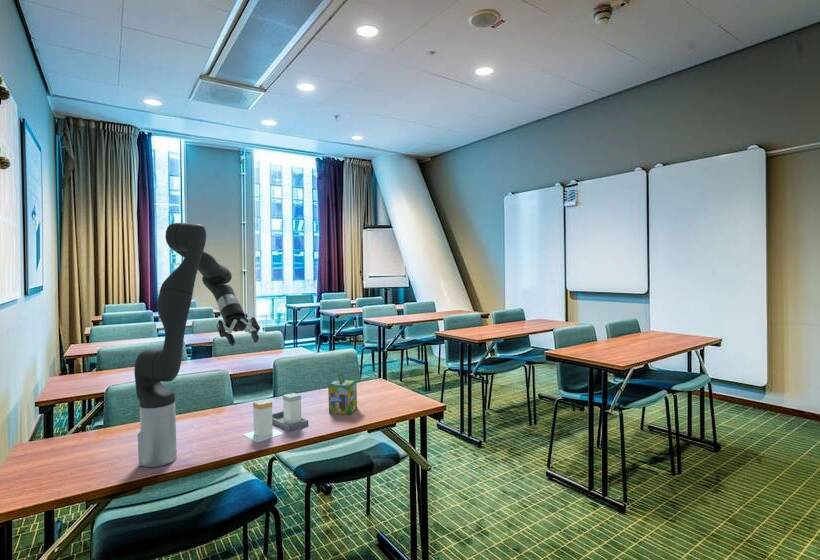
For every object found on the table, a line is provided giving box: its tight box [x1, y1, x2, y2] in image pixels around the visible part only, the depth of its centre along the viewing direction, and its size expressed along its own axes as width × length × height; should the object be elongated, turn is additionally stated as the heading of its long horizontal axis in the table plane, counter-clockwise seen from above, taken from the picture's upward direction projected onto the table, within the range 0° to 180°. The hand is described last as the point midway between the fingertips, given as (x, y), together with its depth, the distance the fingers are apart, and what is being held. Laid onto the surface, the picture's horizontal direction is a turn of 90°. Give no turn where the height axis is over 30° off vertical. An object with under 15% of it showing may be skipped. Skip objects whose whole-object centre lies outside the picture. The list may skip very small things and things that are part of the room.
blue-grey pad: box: [242, 427, 285, 444], centre depth 151 cm, size 10×10×1 cm
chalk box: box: [327, 372, 358, 415], centre depth 176 cm, size 9×9×15 cm
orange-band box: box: [252, 398, 273, 438], centre depth 151 cm, size 5×5×11 cm
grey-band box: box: [282, 392, 302, 425], centre depth 159 cm, size 5×5×11 cm
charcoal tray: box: [272, 410, 309, 432], centre depth 162 cm, size 16×8×2 cm, turn 46°
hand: (245, 342), depth 159 cm, fingers open, 8 cm apart
